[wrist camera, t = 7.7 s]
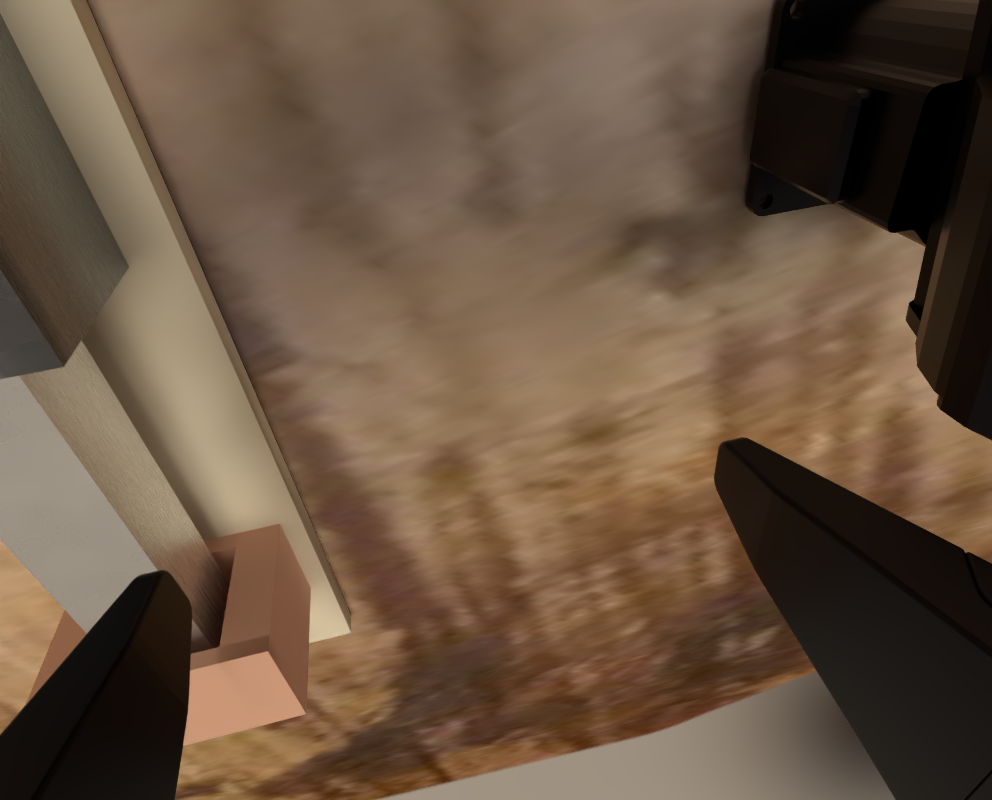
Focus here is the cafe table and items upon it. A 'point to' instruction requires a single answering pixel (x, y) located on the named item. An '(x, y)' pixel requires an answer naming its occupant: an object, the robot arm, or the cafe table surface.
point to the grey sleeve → (45, 232)
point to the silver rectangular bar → (95, 500)
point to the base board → (166, 312)
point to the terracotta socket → (239, 640)
